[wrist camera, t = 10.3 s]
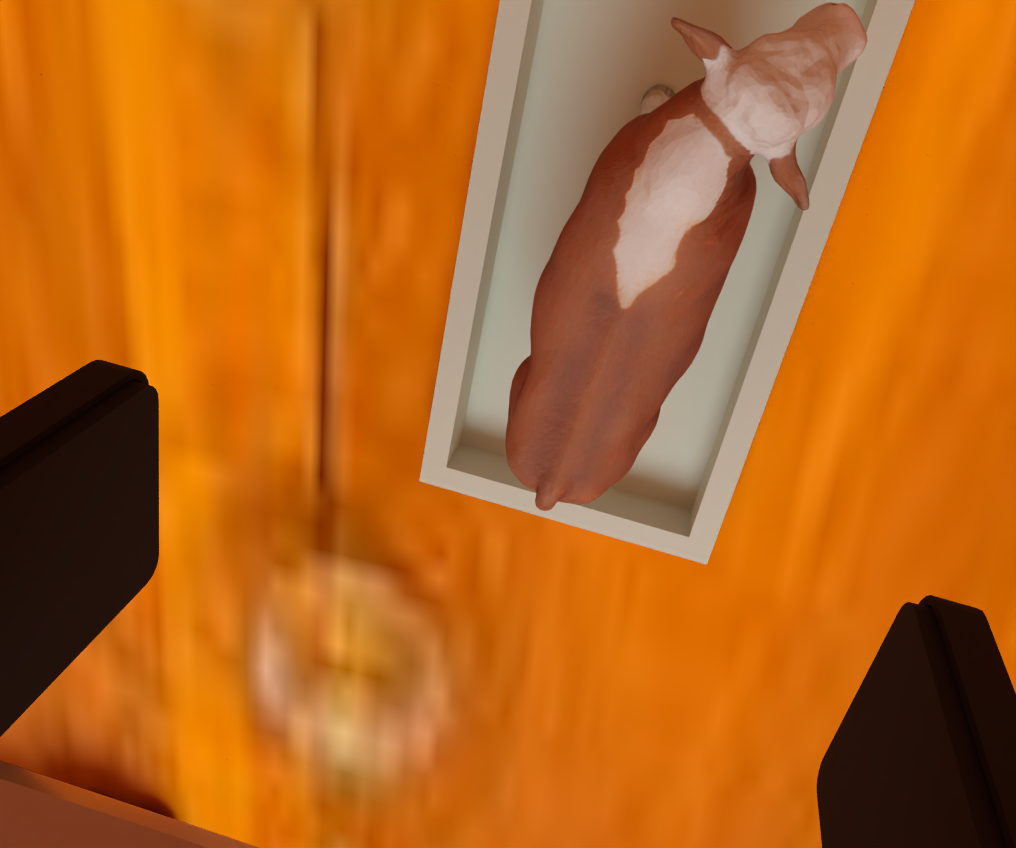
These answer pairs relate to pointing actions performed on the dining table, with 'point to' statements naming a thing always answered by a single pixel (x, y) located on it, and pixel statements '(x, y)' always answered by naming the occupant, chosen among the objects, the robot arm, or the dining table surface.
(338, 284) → the dining table surface
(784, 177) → the bull figurine
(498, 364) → the tray
